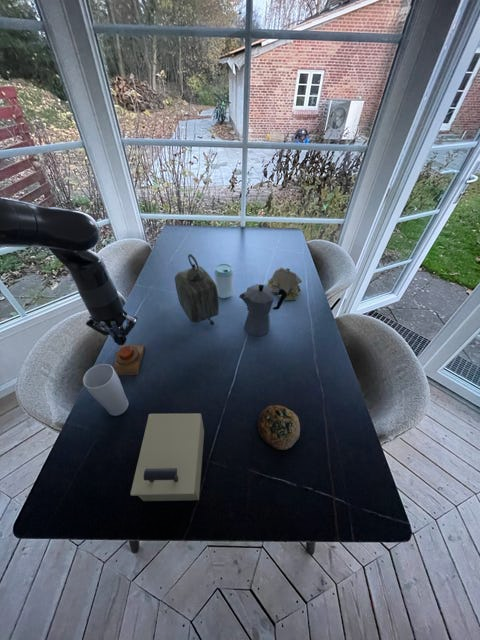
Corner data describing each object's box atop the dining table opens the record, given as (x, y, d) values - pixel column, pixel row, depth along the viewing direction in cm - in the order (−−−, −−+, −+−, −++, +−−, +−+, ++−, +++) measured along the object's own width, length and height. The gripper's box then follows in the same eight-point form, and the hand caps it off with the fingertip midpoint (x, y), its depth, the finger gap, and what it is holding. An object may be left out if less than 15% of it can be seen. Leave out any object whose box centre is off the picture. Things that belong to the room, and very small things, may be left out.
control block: (137, 375, 77) (134, 368, 75) (113, 375, 77) (109, 368, 74) (145, 348, 84) (142, 341, 82) (123, 348, 84) (120, 341, 82)
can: (235, 290, 106) (236, 265, 97) (228, 301, 101) (228, 275, 93) (219, 286, 107) (218, 260, 99) (212, 296, 103) (210, 270, 94)
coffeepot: (241, 339, 88) (242, 298, 75) (235, 319, 94) (236, 278, 81) (285, 333, 90) (294, 292, 77) (277, 314, 96) (284, 273, 84)
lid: (194, 494, 49) (191, 487, 45) (131, 495, 49) (122, 488, 45) (201, 414, 60) (199, 403, 56) (149, 415, 60) (144, 403, 56)
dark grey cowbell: (219, 326, 92) (216, 264, 74) (195, 335, 88) (186, 273, 71) (202, 302, 100) (195, 241, 83) (179, 310, 97) (167, 249, 79)
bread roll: (249, 416, 69) (252, 407, 65) (284, 403, 73) (290, 394, 70) (269, 459, 62) (274, 451, 59) (307, 442, 66) (314, 433, 63)
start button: (131, 359, 77) (130, 356, 76) (119, 359, 77) (117, 356, 76) (134, 350, 80) (133, 346, 78) (122, 350, 80) (121, 346, 78)
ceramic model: (306, 290, 107) (311, 269, 100) (291, 304, 101) (296, 283, 94) (276, 276, 113) (279, 256, 106) (261, 289, 107) (263, 268, 100)
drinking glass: (99, 416, 68) (75, 386, 57) (113, 393, 73) (92, 361, 62) (124, 421, 67) (104, 391, 57) (136, 397, 72) (119, 365, 61)
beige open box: (198, 500, 56) (194, 489, 50) (143, 501, 56) (132, 490, 49) (204, 430, 66) (201, 415, 60) (157, 431, 66) (149, 415, 60)
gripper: (64, 306, 59) (93, 353, 72) (124, 306, 60) (142, 353, 72) (78, 285, 65) (102, 332, 77) (132, 285, 65) (148, 332, 77)
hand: (122, 342), depth 74 cm, fingers closed
